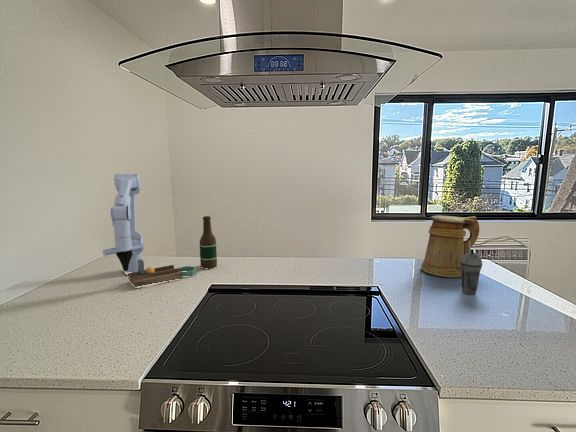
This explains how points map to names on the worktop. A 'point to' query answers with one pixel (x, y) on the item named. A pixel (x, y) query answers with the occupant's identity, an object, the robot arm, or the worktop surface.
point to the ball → (150, 270)
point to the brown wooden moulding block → (155, 276)
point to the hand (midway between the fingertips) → (125, 270)
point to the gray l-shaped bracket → (141, 267)
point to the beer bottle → (208, 245)
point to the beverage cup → (470, 272)
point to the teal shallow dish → (189, 270)
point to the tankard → (448, 244)
